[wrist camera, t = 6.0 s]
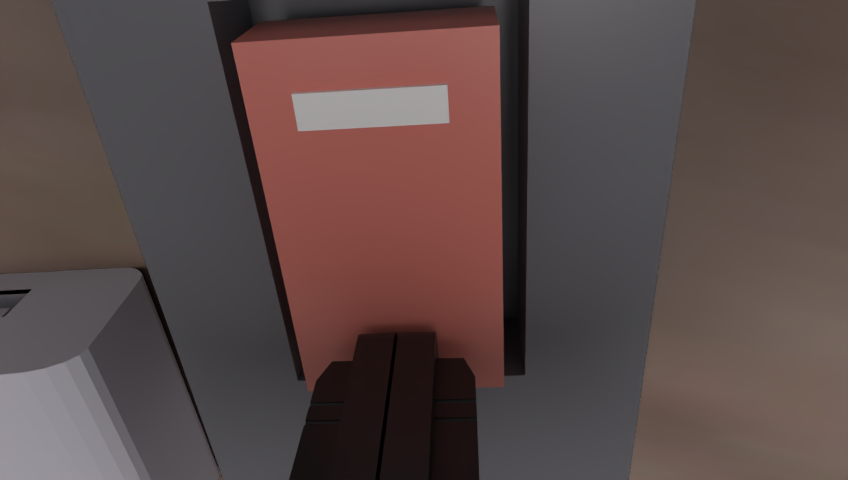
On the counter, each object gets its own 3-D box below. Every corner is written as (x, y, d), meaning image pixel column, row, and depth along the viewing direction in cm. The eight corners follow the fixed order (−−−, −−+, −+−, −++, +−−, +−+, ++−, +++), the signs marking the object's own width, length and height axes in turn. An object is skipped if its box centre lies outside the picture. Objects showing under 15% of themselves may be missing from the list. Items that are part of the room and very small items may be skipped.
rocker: (259, 21, 11) (228, 45, 9) (494, 5, 10) (499, 26, 9) (322, 341, 14) (307, 394, 13) (499, 336, 14) (504, 390, 12)
